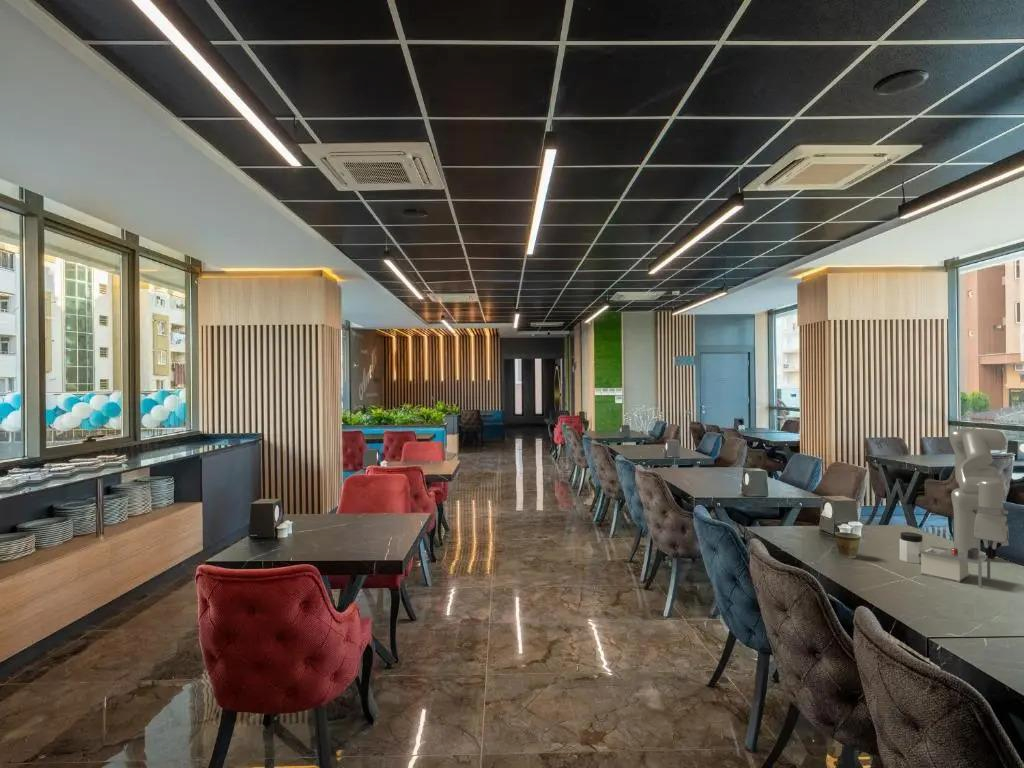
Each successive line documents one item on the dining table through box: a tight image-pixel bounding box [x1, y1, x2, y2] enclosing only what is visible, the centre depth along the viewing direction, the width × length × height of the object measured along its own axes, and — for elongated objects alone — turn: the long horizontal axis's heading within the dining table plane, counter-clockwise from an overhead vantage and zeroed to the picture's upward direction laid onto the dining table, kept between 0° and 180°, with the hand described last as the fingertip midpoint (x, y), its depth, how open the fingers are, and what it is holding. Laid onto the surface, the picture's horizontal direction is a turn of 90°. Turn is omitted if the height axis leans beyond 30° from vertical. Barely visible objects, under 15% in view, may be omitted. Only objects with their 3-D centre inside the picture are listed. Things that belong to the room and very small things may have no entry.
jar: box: [899, 531, 924, 565], centre depth 263 cm, size 9×8×12 cm
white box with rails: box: [918, 545, 991, 589], centre depth 239 cm, size 14×22×10 cm, turn 39°
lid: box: [940, 547, 988, 564], centre depth 236 cm, size 11×13×4 cm
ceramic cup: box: [834, 531, 861, 559], centre depth 271 cm, size 13×10×10 cm
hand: (991, 558), depth 230 cm, fingers closed
